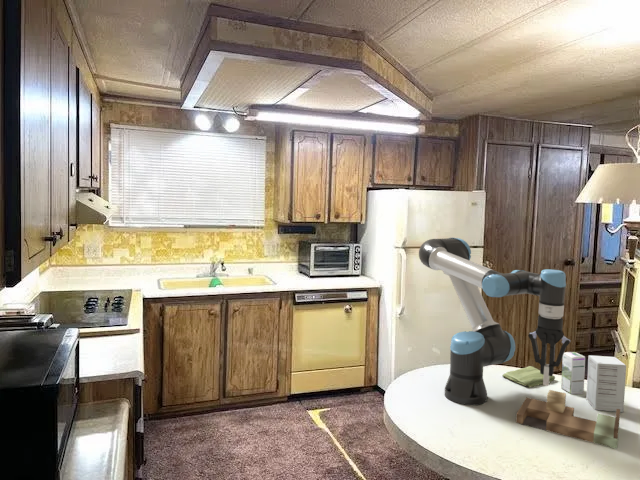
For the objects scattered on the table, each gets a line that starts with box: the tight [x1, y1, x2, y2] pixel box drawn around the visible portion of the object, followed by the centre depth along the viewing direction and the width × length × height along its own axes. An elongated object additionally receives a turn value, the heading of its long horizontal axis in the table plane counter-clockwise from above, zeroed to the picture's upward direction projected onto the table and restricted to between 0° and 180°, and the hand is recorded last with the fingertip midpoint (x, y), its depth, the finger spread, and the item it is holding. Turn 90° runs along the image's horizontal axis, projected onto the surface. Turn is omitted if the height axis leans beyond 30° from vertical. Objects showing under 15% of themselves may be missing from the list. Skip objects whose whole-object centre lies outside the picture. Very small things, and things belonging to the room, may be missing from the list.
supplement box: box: [585, 354, 627, 413], centre depth 166 cm, size 10×9×17 cm
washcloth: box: [502, 365, 556, 388], centre depth 191 cm, size 13×18×3 cm
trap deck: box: [515, 396, 621, 450], centre depth 152 cm, size 28×16×6 cm, turn 56°
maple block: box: [546, 389, 567, 413], centre depth 158 cm, size 5×5×5 cm
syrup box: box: [561, 351, 586, 395], centre depth 179 cm, size 6×6×14 cm
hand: (545, 384), depth 159 cm, fingers closed
